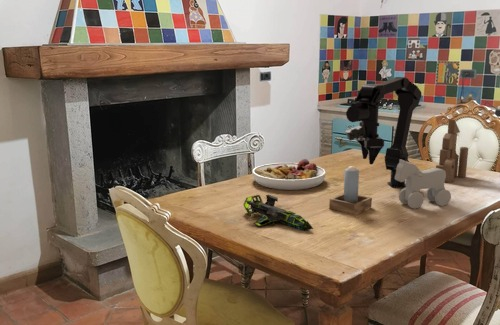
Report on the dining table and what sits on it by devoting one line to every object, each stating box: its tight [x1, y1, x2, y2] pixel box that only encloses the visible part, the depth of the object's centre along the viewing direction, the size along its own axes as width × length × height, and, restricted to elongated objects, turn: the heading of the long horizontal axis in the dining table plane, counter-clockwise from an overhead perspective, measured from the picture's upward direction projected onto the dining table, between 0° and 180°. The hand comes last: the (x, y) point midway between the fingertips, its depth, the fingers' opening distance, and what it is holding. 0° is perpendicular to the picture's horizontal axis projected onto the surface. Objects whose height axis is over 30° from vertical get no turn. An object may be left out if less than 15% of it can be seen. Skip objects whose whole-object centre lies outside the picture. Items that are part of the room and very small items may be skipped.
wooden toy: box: [435, 118, 469, 184], centre depth 211 cm, size 16×7×25 cm, turn 133°
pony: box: [395, 159, 452, 210], centre depth 176 cm, size 20×10×17 cm, turn 105°
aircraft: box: [243, 194, 314, 231], centre depth 161 cm, size 17×28×6 cm, turn 45°
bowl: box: [252, 158, 326, 191], centre depth 209 cm, size 30×30×8 cm
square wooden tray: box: [328, 192, 373, 216], centre depth 174 cm, size 10×10×4 cm
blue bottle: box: [343, 165, 360, 204], centre depth 173 cm, size 5×5×14 cm
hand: (367, 161), depth 187 cm, fingers open, 9 cm apart
